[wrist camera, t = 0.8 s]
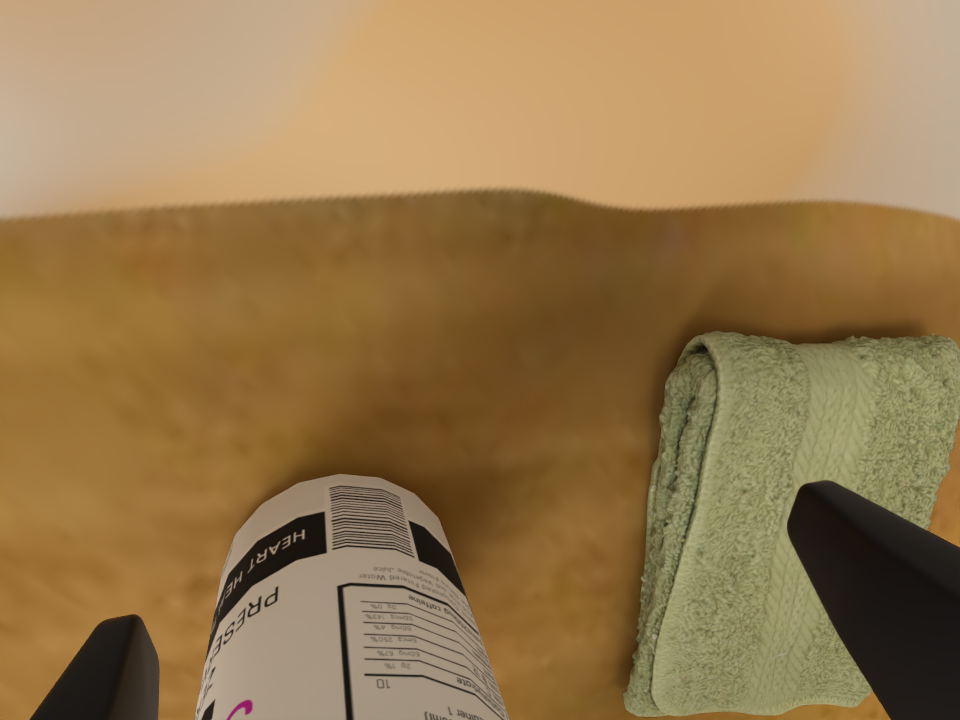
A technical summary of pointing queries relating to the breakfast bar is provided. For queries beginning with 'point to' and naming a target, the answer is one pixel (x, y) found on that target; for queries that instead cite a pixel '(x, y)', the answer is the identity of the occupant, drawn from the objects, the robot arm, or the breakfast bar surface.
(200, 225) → the breakfast bar surface
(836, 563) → the robot arm
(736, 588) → the washcloth
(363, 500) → the supplement can
